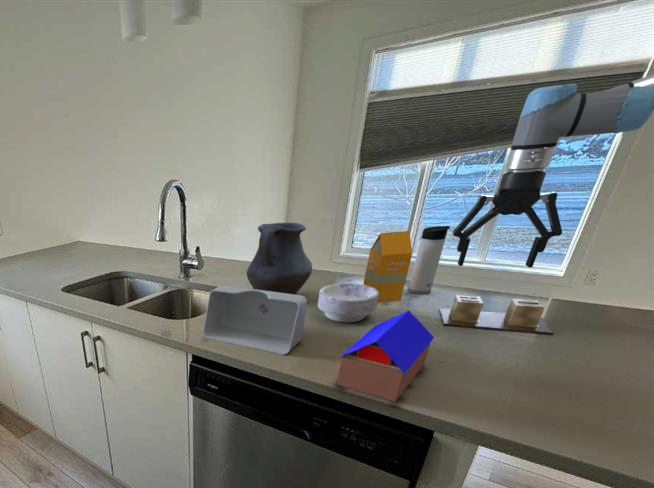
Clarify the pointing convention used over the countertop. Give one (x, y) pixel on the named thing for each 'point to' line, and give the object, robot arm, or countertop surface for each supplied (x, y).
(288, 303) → the gray plastic bin
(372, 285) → the orange juice
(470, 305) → the wooden letter cube
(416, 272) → the travel mug
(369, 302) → the paper bowls
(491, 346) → the countertop surface
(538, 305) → the wooden letter tile box
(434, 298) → the countertop surface
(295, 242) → the pitcher
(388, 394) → the house
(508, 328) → the word board
